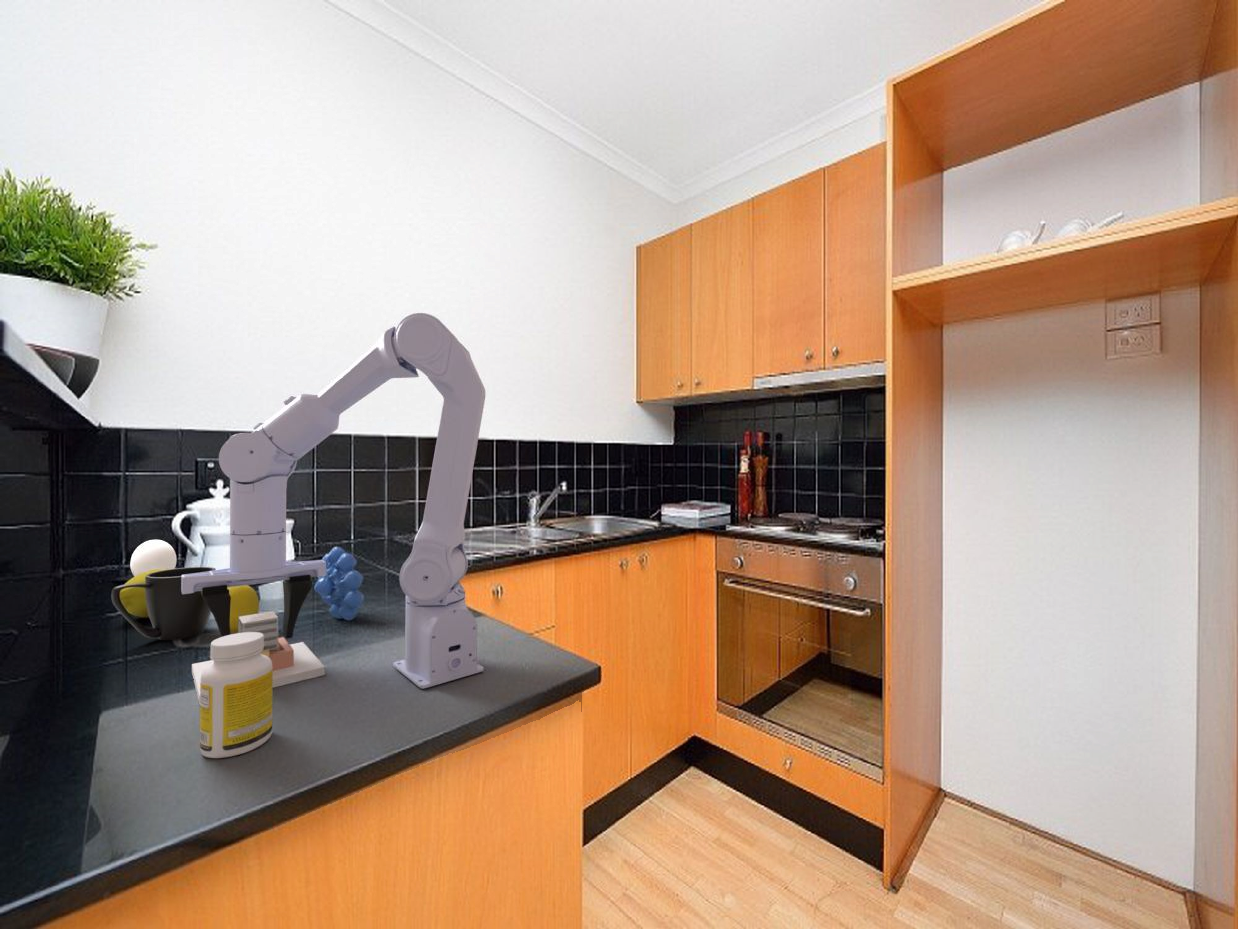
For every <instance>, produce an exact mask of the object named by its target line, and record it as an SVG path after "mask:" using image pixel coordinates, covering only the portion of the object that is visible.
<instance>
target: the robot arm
mask: <svg viewBox="0 0 1238 929" xmlns="http://www.w3.org/2000/svg"><path fill="white" fill-rule="evenodd" d="M417 370H418V371H420V372H421V373H423V374H424V375H425V376H426V377H427V379H428V380H429V381H430V382H431V384H432V385H433V386H434V387H435V388H436V390H437V391H438V392H439V393H440V395H441V396H442V398H443V402H442V409H441V412H440V413H441V415H440V419H439V426H438V432H437V435H436V443H435V448H434V455H433V460H432V466H431V472H430V478H429V483H428V489H427V494H426V502H425V507H424V511H423V512H424V513H423V518H422V522H421V525H420V527H419V529H418V531H417V533H416V535H415V537H414V539H413V540H414V541H413V543H412V544H413V545H412V549H411V551H410V552H411V553H410V554H409V556H408V557H407V559H406V560H405V561H404V563H403V564H402V566H401V568H400V571H399V577H398V578H399V579H398V580H399V585H400V588H401V590H402V592H403V594H404V595H405V609H404V610H405V614H404V615H405V616H404V617H405V624H404V626H405V627H404V631H405V633H404V635H405V636H404V637H405V638H404V641H405V642H404V644H405V645H404V648H405V649H404V650H405V651H404V654H405V655H404V658H405V659H400V660H397V661H395V662H393V664H392V665H393V667H394V668H395V669H396V670H397V671H399V672H400V673H401V674H402V675H403V676H405V677H406V678H408V680H410V681H411V682H412V683H413V684H414V685H416V687H418V688H420V689H427V688H431V687H434V686H438V685H441V684H445V683H448V682H450V681H455V680H458V679H461V678H464V677H468V676H472V675H475V674H478V673H482V672H483V671H484V666H483V665H481V664H479V663H478V624H477V620H476V618H475V615H474V614H473V613H472V612H471V611H470V610H469V608H468V607H467V605H466V604H467V603H466V590H465V589H464V587H463V585H462V583H461V580H462V579H463V578H464V577H465V575H466V573H467V570H468V566H469V565H468V564H469V562H468V557H467V553H466V550H465V541H466V532H465V524H464V523H465V517H466V513H467V506H468V500H469V494H470V488H471V482H472V477H473V470H474V466H475V465H474V464H475V461H476V454H477V448H478V442H479V436H480V430H481V424H482V418H483V414H484V413H483V412H484V407H485V402H486V389H485V386H484V384H483V382H482V379H481V377H480V375H479V372H478V370H477V368H476V366H475V364H474V362H473V359H472V357H471V353H470V351H469V349H467V348H466V347H465V346H464V345H463V344H462V343H461V342H460V341H459V339H458V338H457V337H456V336H455V335H454V334H453V332H452V331H450V329H449V328H448V327H447V326H446V325H445V324H444V323H443V322H442V321H441V320H440V319H438V317H436V316H434V315H431V314H430V313H429V314H428V313H425V312H417V313H411V314H409V315H408V316H406V317H404V318H403V319H401V321H400V322H399V323H398V324H397V326H392V327H391V328H389V329H387V330H385V331H384V332H383V334H382V335H381V336H380V337H379V339H378V340H377V341H376V342H375V344H374V345H373V346H372V347H371V348H370V349H368V350H367V351H366V352H365V353H364V354H362V356H360V357H359V358H357V360H355V362H353V363H352V364H351V365H350V366H349V367H348V368H347V369H346V370H344V371H343V372H342V373H341V374H340V375H339V376H337V377H336V378H335V379H334V380H333V381H331V383H329V384H328V385H327V386H325V388H324V389H322V390H321V391H320V392H319V393H318V394H310V393H302V394H300V395H299V396H298V395H297V397H296V396H293V395H292V396H289V397H287V398H286V399H285V400H283V404H284V405H285V406H284V407H283V408H282V409H280V410H279V411H277V412H276V413H275V414H274V415H273V416H271V417H269V419H267V420H266V421H265V422H258V423H256V425H254V426H253V428H252V429H253V431H252V432H239V433H235V434H233V435H231V436H230V437H229V438H228V440H227V441H226V442H224V444H223V445H222V447H221V448H220V451H219V453H218V464H219V467H220V469H221V472H222V473H223V474H224V475H225V476H226V477H227V478H229V490H230V491H229V493H230V494H229V514H230V515H229V567H226V568H221V569H216V570H214V571H207V572H200V573H193V574H185V575H181V591H182V594H189V593H194V592H195V591H201V594H202V596H203V599H204V600H205V602H206V604H207V605H208V607H209V609H210V610H211V614H212V616H213V618H214V621H215V620H216V621H215V623H216V626H217V629H218V631H219V632H218V633H219V637H224V636H227V635H231V634H232V632H231V631H230V604H231V596H230V595H229V590H228V588H227V587H235V586H243V585H248V586H250V585H258V584H265V583H273V582H282V588H283V590H282V591H283V621H282V635H283V637H284V639H285V640H288V639H293V636H294V630H295V626H296V623H297V619H298V616H299V614H300V611H301V609H302V606H303V605H304V602H305V600H306V598H307V596H308V595H309V593H310V591H311V589H312V587H313V580H312V579H311V578H312V577H313V578H314V577H316V578H319V577H323V576H326V562H325V561H323V560H322V559H314V560H303V561H287V490H288V487H287V486H288V484H287V483H288V479H289V477H291V475H292V474H293V472H294V471H295V469H296V467H297V463H298V461H299V460H300V459H301V458H302V457H304V456H305V455H306V454H307V453H309V452H310V451H312V450H313V449H314V448H315V447H316V446H317V445H319V444H321V442H323V441H324V440H325V439H326V438H328V437H329V436H331V435H332V434H333V433H334V432H335V431H337V430H338V428H339V425H340V423H339V422H340V421H339V420H340V415H341V414H342V413H344V412H345V411H347V410H348V409H350V408H351V407H352V406H354V405H355V404H356V403H358V402H360V401H361V400H362V399H364V398H365V397H367V396H368V395H369V394H371V393H372V392H374V391H375V390H377V389H378V388H380V387H381V386H382V385H384V384H385V383H387V382H388V381H389V380H392V379H402V378H403V379H409V378H410V379H411V378H419V377H420V376H419V373H418V371H417Z"/></svg>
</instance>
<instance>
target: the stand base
mask: <svg viewBox="0 0 1238 929" xmlns="http://www.w3.org/2000/svg"><path fill="white" fill-rule="evenodd" d="M261 654H262V655H265V656H267V657H269V658H270V659H271V661H272V668H273V688H277V687H280V686H281V687H282V686H285V685H289V684H294V683H298V682H301V681H305V680H310V679H314V678H318V677H322V676H325V673H326V667H325V665H324V664H323V663H322V662H321V660H320V659H319V658H318V657H317V656H316V655H315V654H314V652H313V651H311V650H310V648H309V647H308V646H307V645H306V644H305V642H304V641H301V642H296V643H291V644H289V643H288V641H287V639H286V638H285V637H284V636H281V637H278V651H277V652H272V653H269V650H268V649H267V650H263V651H262V652H261ZM212 663H214V660H212V659H210V660H206V661H202V662H201V661H200V662H196V663H192V664H191V675H192V678H193V679H194V680H193V683H194V687H195V692H197V693H196V697H197V702H198V701H199V702H198V705H200V681H201V674H202V672H203V671H204V669H205V668H206V667H208V666H209V665H211V664H212Z"/></svg>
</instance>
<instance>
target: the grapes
mask: <svg viewBox="0 0 1238 929" xmlns="http://www.w3.org/2000/svg"><path fill="white" fill-rule="evenodd" d="M321 560H323V561H325V562H326V576H323V577H317V581H316V582H315V583H314V584H315V585H314V588H313V589H314V591H315V592H317V593H318V595H320V596H321V600H322V601H323V602H324V603H325V604H327V605H328V606H330V608H329V611H328V612H329V613H330V614H331V615H332V616H333V617H335V618H336V619H338V620H340V619H344V620H346V621H351V620H353V619H355V618H356V616H357V615H358V612H359V609H360V607H361V606H362V604H363V601H364V599H365V596H364V594H363V593H362V592H361V591H360V590H359V588H361V585H362V583H363V580H364V577H363V575H362V574H361V573H360V572H359V571H358V570H355V567H356V565H357V562H358V561H357V559H356V558H355V557H354V556H353V555H352V554H351V553H349V552H346V551H345V549H344V548H342V547H340V546H334V547H333V548H331V550H330V551H329V552H328V553H326V554H325V555H323V557H322V559H321Z"/></svg>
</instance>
